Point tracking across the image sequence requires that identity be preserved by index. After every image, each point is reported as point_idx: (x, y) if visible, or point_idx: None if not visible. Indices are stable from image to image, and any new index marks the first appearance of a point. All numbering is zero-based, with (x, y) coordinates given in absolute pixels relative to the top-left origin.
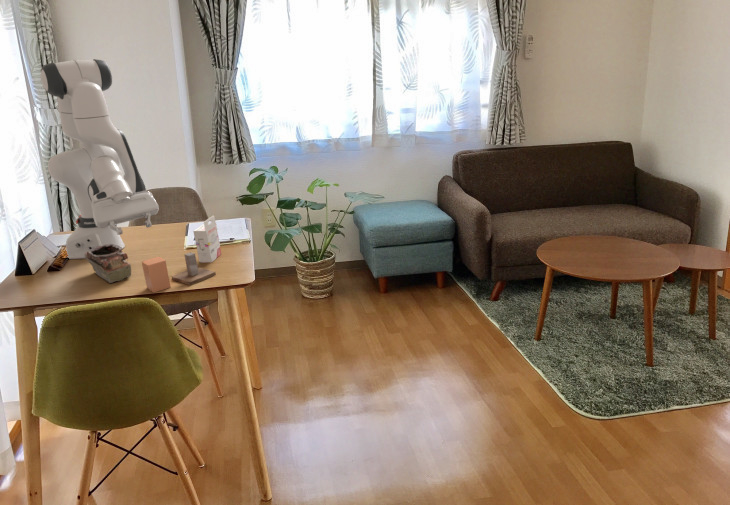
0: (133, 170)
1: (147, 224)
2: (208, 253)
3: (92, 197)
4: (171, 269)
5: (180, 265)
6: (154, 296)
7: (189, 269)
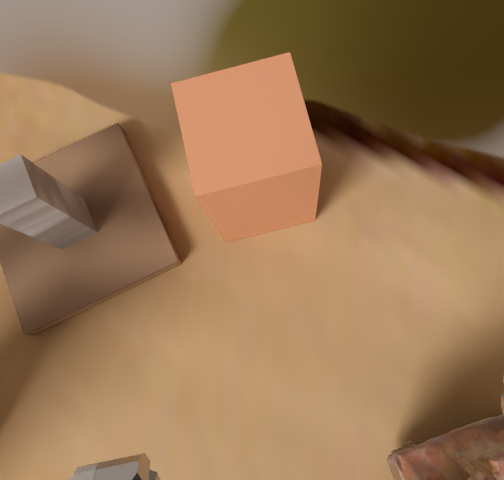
0: None
1: (134, 456)
2: None
3: None
4: (152, 435)
5: None
6: None
7: (74, 203)
